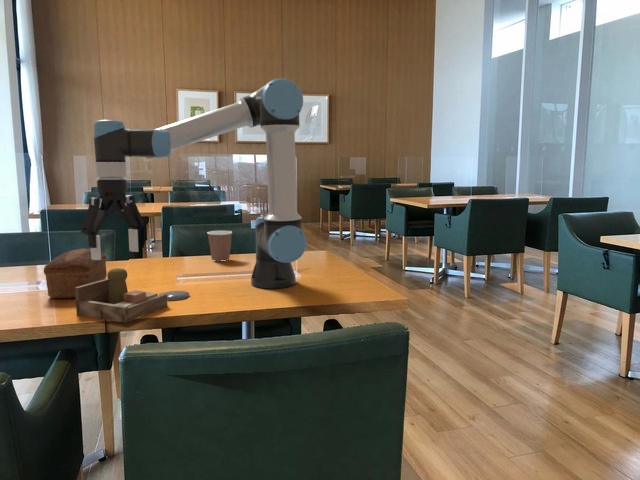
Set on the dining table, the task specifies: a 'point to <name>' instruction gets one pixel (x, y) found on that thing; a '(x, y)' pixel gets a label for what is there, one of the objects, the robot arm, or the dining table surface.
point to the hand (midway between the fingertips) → (116, 255)
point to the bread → (73, 272)
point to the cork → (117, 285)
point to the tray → (96, 304)
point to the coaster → (176, 295)
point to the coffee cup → (220, 244)
